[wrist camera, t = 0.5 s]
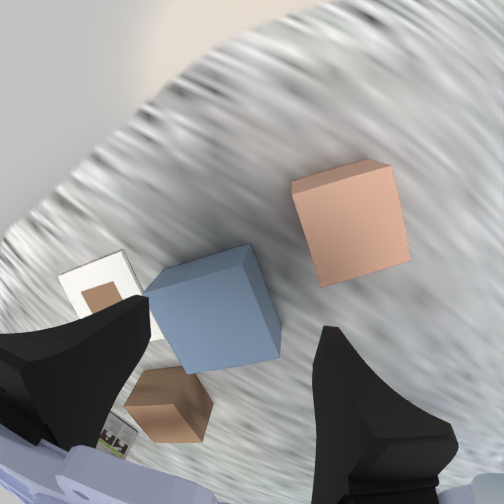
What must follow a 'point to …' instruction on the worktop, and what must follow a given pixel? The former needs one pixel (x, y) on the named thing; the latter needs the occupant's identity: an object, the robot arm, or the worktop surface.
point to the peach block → (351, 220)
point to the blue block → (216, 311)
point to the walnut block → (170, 406)
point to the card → (104, 287)
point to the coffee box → (116, 437)
